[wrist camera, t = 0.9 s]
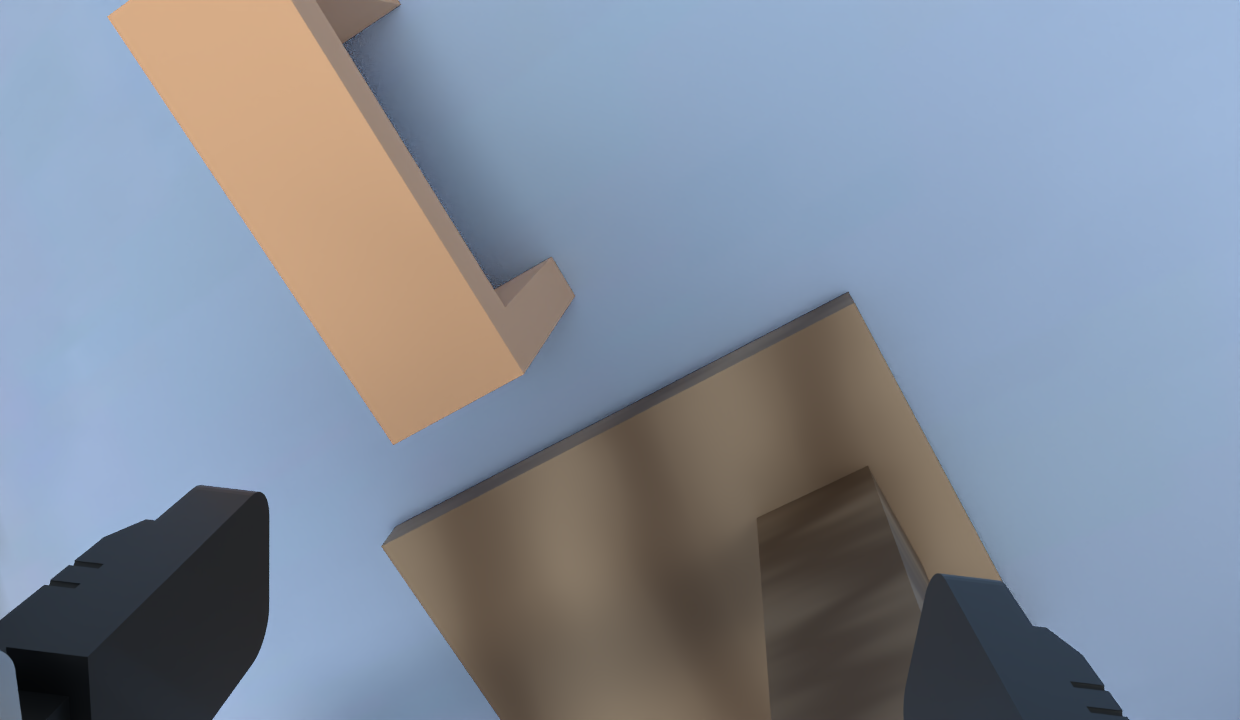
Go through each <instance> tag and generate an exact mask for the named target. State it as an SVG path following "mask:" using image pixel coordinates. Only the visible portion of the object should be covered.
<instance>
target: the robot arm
mask: <svg viewBox="0 0 1240 720" xmlns="http://www.w3.org/2000/svg"><path fill="white" fill-rule="evenodd" d="M268 615H269V507H268V502H267V499H266V497H265V495H264V494H263V493H261V492H255V491H246V490H238V489H229V488H221V487H212V486H204V485H199V486H196V487H195V488H193V489H192V490H191V491H189V492H188V493H187V494H186V495H185V496H184V497H182V498H181V499H180V500H179V501H178V502H176V503H175V504H174V505H173V506H172V507H171V508H169V509H168V510H167V511H166V512H165V513H163V514H162V515H161V516H160V517H159V518H158V519H156V520H155V521H154V520H144V521H141V522H139V523H136V524H134V525H132V526H129V527H127V528H125V529H122V530H120V531H118V532H115V533H113V534H110V535H108V536H106V537H104V538H102V539H101V540H100V541H99V542H97V543H96V544H95V545H94V546H92V547H91V548H90V549H89V550H87V551H86V552H85V553H84V554H82V555H81V556H80V557H79V558H77V559H76V560H75V563H74V566H72V565H69V566H67V567H66V568H65V569H64V570H62V571H61V572H60V573H59V574H57V575H56V576H55V577H54V578H52V579H51V581H50V585H44V586H42V587H41V588H40V589H39V590H37V591H36V592H35V593H34V594H32V595H31V596H30V597H29V598H27V599H26V600H25V601H24V602H22V603H21V604H20V605H19V606H17V607H16V608H15V609H14V610H12V611H11V612H10V613H9V614H7V615H6V616H5V617H4V618H2V619H1V620H0V720H212V719H213V718H214V716H215V715H216V714H217V712H218V711H219V709H220V708H221V707H222V705H223V704H224V702H225V701H226V700H227V698H228V697H229V696H230V694H231V693H232V691H233V690H234V689H235V687H236V686H237V684H238V683H239V682H240V680H241V679H242V678H243V676H244V675H245V673H246V672H247V671H248V669H249V668H250V666H251V665H252V664H253V662H254V660H255V659H256V657H257V655H258V653H259V650H260V648H261V645H262V643H263V639H264V636H265V632H266V628H267V622H268ZM903 717H904V720H1129V719H1128V718H1127V717H1123V716H1122V709H1121V708H1120V706H1119V705H1118V704H1117V702H1116V701H1115V699H1114V698H1113V697H1112V695H1111V694H1110V693H1109V691H1104V684H1103V683H1102V681H1101V680H1100V679H1099V677H1098V676H1097V675H1096V673H1095V672H1094V670H1093V669H1092V668H1091V666H1090V665H1089V663H1088V662H1087V661H1086V659H1085V658H1084V656H1083V655H1082V654H1080V653H1079V652H1078V651H1076V650H1075V649H1074V648H1072V647H1071V646H1070V645H1068V644H1067V643H1066V642H1064V641H1063V640H1062V639H1060V638H1059V637H1058V636H1057V635H1055V634H1054V633H1053V632H1051V631H1050V630H1049V629H1047V628H1044V627H1036V626H1032V624H1031V623H1030V621H1029V620H1028V618H1027V617H1026V615H1025V614H1024V612H1023V611H1022V609H1021V608H1020V606H1019V605H1018V603H1017V602H1016V600H1015V599H1014V597H1013V596H1012V594H1011V593H1010V591H1009V590H1008V588H1007V587H1006V585H1005V584H1004V583H1003V582H1002V581H999V580H991V579H983V578H974V577H966V576H957V575H949V574H940V573H937V574H935V575H934V576H933V577H932V578H931V580H930V582H929V584H928V587H927V590H926V594H925V598H924V602H923V607H922V612H921V616H920V621H919V626H918V630H917V635H916V640H915V644H914V649H913V653H912V658H911V663H910V667H909V672H908V677H907V681H906V686H905V693H904V704H903Z"/></svg>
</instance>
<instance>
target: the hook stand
mask: <svg viewBox="0 0 1240 720" xmlns="http://www.w3.org/2000/svg"><path fill="white" fill-rule="evenodd" d="M381 547H382V548H383V550H384V551H385V552H386V554H387V555H388V557H389V558H390V560H391V561H392V563H393V564H394V566H395V567H396V568H397V570H398V571H399V573H400V574H401V576H402V577H403V579H404V580H405V582H406V583H407V584H408V586H409V587H410V589H411V590H412V592H413V593H414V595H415V596H416V598H417V599H418V600H419V602H420V603H421V605H422V606H423V608H424V609H425V611H426V612H427V614H428V615H429V616H430V618H431V619H432V621H433V622H434V624H435V625H436V627H437V628H438V630H439V631H440V632H441V634H442V635H443V637H444V638H445V640H446V641H447V643H448V644H449V645H450V647H451V648H452V650H453V651H454V653H455V654H456V656H457V657H458V659H459V660H460V661H461V663H462V664H463V666H464V667H465V669H466V670H467V672H468V673H469V675H470V676H471V677H472V679H473V680H474V682H475V683H476V685H477V686H478V688H479V689H480V691H481V692H482V693H483V695H484V696H485V698H486V699H487V701H488V702H489V704H490V705H491V707H492V708H493V709H494V711H495V712H496V714H497V715H498V717H499V718H500V720H904V717H903V704H904V693H905V686H906V681H907V677H908V672H909V667H910V663H911V658H912V653H913V649H914V644H915V640H916V635H917V630H918V626H919V621H920V616H921V612H922V607H923V602H924V598H925V594H926V590H927V587H928V584H929V582H930V580H931V578H932V577H933V576H934V575H935V574H937V573H940V574H949V575H957V576H966V577H974V578H983V579H991V580H999V581H1002V580H1001V578H1000V576H999V574H998V572H997V570H996V568H995V566H994V565H993V563H992V561H991V559H990V557H989V555H988V553H987V551H986V549H985V548H984V546H983V544H982V542H981V540H980V538H979V536H978V534H977V533H976V531H975V529H974V527H973V525H972V523H971V521H970V519H969V517H968V516H967V514H966V512H965V510H964V508H963V506H962V504H961V502H960V501H959V499H958V497H957V495H956V493H955V491H954V489H953V487H952V486H951V484H950V482H949V480H948V478H947V476H946V474H945V472H944V470H943V469H942V467H941V465H940V463H939V461H938V459H937V457H936V455H935V454H934V452H933V450H932V448H931V446H930V444H929V442H928V440H927V438H926V437H925V435H924V433H923V431H922V429H921V427H920V425H919V423H918V422H917V420H916V418H915V416H914V414H913V412H912V410H911V408H910V407H909V405H908V403H907V401H906V399H905V397H904V395H903V393H902V391H901V390H900V388H899V386H898V384H897V382H896V380H895V378H894V376H893V375H892V373H891V371H890V369H889V367H888V365H887V363H886V361H885V359H884V358H883V356H882V354H881V352H880V350H879V348H878V346H877V344H876V343H875V341H874V339H873V337H872V335H871V333H870V331H869V329H868V328H867V326H866V324H865V322H864V320H863V318H862V316H861V314H860V312H859V311H858V309H857V307H856V305H855V303H854V301H853V299H852V298H851V296H850V294H849V292H847V293H845V294H843V295H841V296H839V297H838V298H836V299H834V300H832V301H830V302H828V303H826V304H824V305H822V306H820V307H818V308H816V309H814V310H812V311H811V312H809V313H807V314H805V315H803V316H801V317H799V318H797V319H795V320H793V321H791V322H789V323H787V324H786V325H784V326H782V327H780V328H778V329H776V330H774V331H772V332H770V333H768V334H766V335H764V336H762V337H760V338H759V339H757V340H755V341H753V342H751V343H749V344H747V345H745V346H743V347H741V348H739V349H737V350H735V351H733V352H732V353H730V354H728V355H726V356H724V357H722V358H720V359H718V360H716V361H714V362H712V363H710V364H708V365H706V366H705V367H703V368H701V369H699V370H697V371H695V372H693V373H691V374H689V375H687V376H685V377H683V378H681V379H679V380H678V381H676V382H674V383H672V384H670V385H668V386H666V387H664V388H662V389H660V390H658V391H656V392H654V393H652V394H651V395H649V396H647V397H645V398H643V399H641V400H639V401H637V402H635V403H633V404H631V405H629V406H627V407H625V408H624V409H622V410H620V411H618V412H616V413H614V414H612V415H610V416H608V417H606V418H604V419H602V420H600V421H598V422H597V423H595V424H593V425H591V426H589V427H587V428H585V429H583V430H581V431H579V432H577V433H575V434H573V435H571V436H570V437H568V438H566V439H564V440H562V441H560V442H558V443H556V444H554V445H552V446H550V447H548V448H546V449H544V450H543V451H541V452H539V453H537V454H535V455H533V456H531V457H529V458H527V459H525V460H523V461H521V462H519V463H517V464H516V465H514V466H512V467H510V468H508V469H506V470H504V471H502V472H500V473H498V474H496V475H494V476H492V477H491V478H489V479H487V480H485V481H483V482H481V483H479V484H477V485H475V486H473V487H471V488H469V489H467V490H465V491H464V492H462V493H460V494H458V495H456V496H454V497H452V498H450V499H448V500H446V501H444V502H442V503H440V504H438V505H437V506H435V507H433V508H431V509H429V510H427V511H425V512H423V513H421V514H419V515H417V516H415V517H413V518H411V519H410V520H408V521H406V522H404V523H402V524H400V525H398V526H396V527H395V528H394V529H393V531H392V532H391V534H390V535H389V536H388V538H387V539H386V541H385V542H384V543H383V545H382V546H381ZM1002 582H1003V581H1002Z"/></svg>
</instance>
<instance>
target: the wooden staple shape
mask: <svg viewBox="0 0 1240 720" xmlns="http://www.w3.org/2000/svg"><path fill="white" fill-rule="evenodd" d="M399 5H401V4H400V3H399V1H398V0H129V1H128V2H126V3H125V4H124V5H122V6H121V7H120V8H118V9H117V10H116V11H114V12H113V13H111V14H110V15H109V16H107V17H108V18H109V20H110V21H111V23H112V24H113V26H114V27H115V29H116V30H117V32H118V33H119V35H120V36H121V38H122V39H123V41H124V42H125V44H126V45H127V47H128V48H129V50H130V51H131V53H132V54H133V56H134V57H135V59H136V60H137V62H138V63H139V65H140V66H141V68H142V69H143V71H144V72H145V74H146V75H147V77H148V78H149V80H150V81H151V83H152V84H153V86H154V87H155V89H156V90H157V92H158V93H159V95H160V96H161V98H162V99H163V101H164V102H165V104H166V105H167V107H168V108H169V110H170V111H171V113H172V114H173V116H174V117H175V119H176V120H177V122H178V123H179V125H180V126H181V128H182V129H183V131H184V132H185V134H186V135H187V137H188V138H189V140H190V141H191V143H192V144H193V146H194V147H195V149H196V150H197V152H198V153H199V155H200V156H201V158H202V159H203V161H204V162H205V164H206V165H207V167H208V168H209V170H210V171H211V173H212V174H213V176H214V177H215V179H216V180H217V182H218V183H219V185H220V186H221V188H222V189H223V191H224V192H225V194H226V195H227V197H228V198H229V200H230V201H231V203H232V204H233V206H234V207H235V209H236V210H237V212H238V213H239V215H240V216H241V218H242V219H243V221H244V222H245V224H246V225H247V227H248V228H249V230H250V231H251V233H252V234H253V236H254V237H255V239H256V240H257V242H258V243H259V245H260V246H261V248H262V249H263V251H264V252H265V254H266V255H267V257H268V258H269V260H270V261H271V263H272V264H273V266H274V267H275V269H276V270H277V272H278V273H279V275H280V276H281V278H282V279H283V281H284V282H285V284H286V285H287V287H288V288H289V290H290V291H291V293H292V294H293V296H294V297H295V299H296V300H297V302H298V303H299V305H300V306H301V308H302V309H303V311H304V312H305V314H306V315H307V317H308V318H309V319H310V321H311V322H312V324H313V325H314V327H315V328H316V330H317V331H318V333H319V334H320V336H321V337H322V339H323V340H324V342H325V343H326V345H327V346H328V348H329V349H330V351H331V352H332V354H333V355H334V357H335V358H336V360H337V361H338V363H339V364H340V366H341V367H342V369H343V370H344V372H345V373H346V375H347V376H348V378H349V379H350V381H351V382H352V384H353V385H354V387H355V388H356V390H357V391H358V393H359V394H360V396H361V397H362V399H363V400H364V402H365V403H366V405H367V406H368V408H369V409H370V411H371V412H372V414H373V415H374V417H375V418H376V420H377V421H378V423H379V424H380V426H381V427H382V429H383V430H384V432H385V433H386V435H387V436H388V438H389V439H390V441H391V442H392V444H393V445H394V444H396V443H398V442H400V441H402V440H403V439H405V438H407V437H409V436H411V435H413V434H414V433H416V432H418V431H420V430H422V429H424V428H426V427H427V426H429V425H431V424H433V423H435V422H437V421H438V420H440V419H442V418H444V417H446V416H448V415H449V414H451V413H453V412H455V411H457V410H459V409H460V408H462V407H464V406H466V405H468V404H470V403H472V402H473V401H475V400H477V399H479V398H481V397H483V396H484V395H486V394H488V393H490V392H492V391H494V390H495V389H497V388H499V387H501V386H503V385H505V384H507V383H508V382H510V381H512V380H514V379H516V378H518V377H519V376H521V375H523V374H524V373H525V372H526V370H527V369H528V367H529V366H530V364H531V363H532V361H533V359H534V358H535V356H536V355H537V353H538V352H539V350H540V349H541V347H542V346H543V344H544V343H545V341H546V340H547V338H548V337H549V335H550V334H551V332H552V330H553V329H554V327H555V326H556V324H557V323H558V321H559V320H560V318H561V317H562V315H563V314H564V312H565V311H566V309H567V308H568V306H569V305H570V303H571V301H572V300H573V298H574V297H575V295H574V293H573V292H572V290H571V288H570V287H569V285H568V283H567V282H566V280H565V278H564V277H563V275H562V273H561V272H560V270H559V268H558V266H557V265H556V263H555V261H554V260H553V258H552V257H550V258H548V259H547V260H545V261H543V262H542V263H540V264H538V265H536V266H535V267H533V268H531V269H529V270H528V271H526V272H524V273H522V274H521V275H519V276H517V277H515V278H514V279H512V280H510V281H508V282H507V283H505V284H503V285H501V286H500V287H498V288H496V289H493V287H492V285H491V284H490V282H489V281H488V279H487V277H486V276H485V274H484V273H483V271H482V269H481V268H480V266H479V264H478V263H477V261H476V260H475V258H474V256H473V255H472V253H471V251H470V250H469V248H468V247H467V245H466V243H465V242H464V240H463V239H462V237H461V235H460V234H459V232H458V230H457V229H456V227H455V226H454V224H453V222H452V221H451V219H450V217H449V216H448V214H447V213H446V211H445V209H444V208H443V206H442V205H441V203H440V201H439V200H438V198H437V196H436V195H435V193H434V192H433V190H432V188H431V187H430V185H429V183H428V182H427V180H426V179H425V177H424V175H423V174H422V172H421V171H420V169H419V167H418V166H417V164H416V162H415V161H414V159H413V158H412V156H411V154H410V153H409V151H408V149H407V148H406V146H405V145H404V143H403V141H402V140H401V138H400V137H399V135H398V133H397V132H396V130H395V128H394V127H393V125H392V124H391V122H390V120H389V119H388V117H387V115H386V114H385V112H384V111H383V109H382V107H381V106H380V104H379V103H378V101H377V99H376V98H375V96H374V94H373V93H372V91H371V90H370V88H369V86H368V85H367V83H366V81H365V80H364V78H363V77H362V75H361V73H360V72H359V70H358V69H357V67H356V65H355V64H354V62H353V60H352V59H351V57H350V56H349V54H348V52H347V51H346V49H345V47H344V46H343V43H345V42H346V41H347V40H349V39H350V38H352V37H353V36H355V35H356V34H358V33H359V32H361V31H362V30H364V29H365V28H367V27H368V26H370V25H371V24H373V23H374V22H376V21H377V20H379V19H380V18H382V17H383V16H385V15H386V14H388V13H389V12H391V11H392V10H393V9H395V8H396V7H398V6H399Z"/></svg>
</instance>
